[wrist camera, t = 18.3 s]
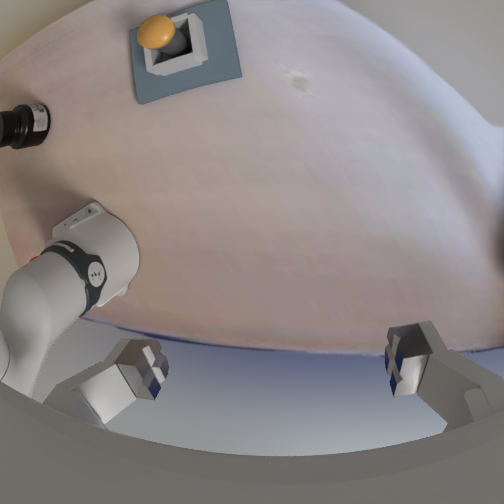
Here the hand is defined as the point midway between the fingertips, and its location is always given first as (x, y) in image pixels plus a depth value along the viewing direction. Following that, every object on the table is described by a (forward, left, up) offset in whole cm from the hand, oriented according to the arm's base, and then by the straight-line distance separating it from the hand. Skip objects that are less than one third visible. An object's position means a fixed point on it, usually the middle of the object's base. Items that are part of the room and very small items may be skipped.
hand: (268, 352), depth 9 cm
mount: (-12, +24, -33) cm, 43 cm away
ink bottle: (-46, +23, -33) cm, 61 cm away
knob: (-12, +24, -32) cm, 41 cm away
